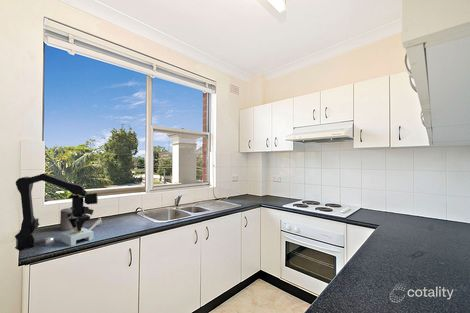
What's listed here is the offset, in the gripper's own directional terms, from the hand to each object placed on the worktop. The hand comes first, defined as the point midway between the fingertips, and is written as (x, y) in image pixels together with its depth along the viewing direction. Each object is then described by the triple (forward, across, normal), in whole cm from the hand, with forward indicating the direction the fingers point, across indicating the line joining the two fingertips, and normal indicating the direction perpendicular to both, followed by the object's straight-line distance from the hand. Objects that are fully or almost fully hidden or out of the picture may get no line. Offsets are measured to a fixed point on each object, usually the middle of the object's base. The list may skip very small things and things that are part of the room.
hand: (77, 230), depth 133 cm
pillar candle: (+6, +30, -7) cm, 31 cm away
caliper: (+6, +14, -16) cm, 22 cm away
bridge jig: (+6, 0, 0) cm, 6 cm away
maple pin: (+6, 0, 0) cm, 6 cm away
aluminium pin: (+6, +5, +12) cm, 14 cm away
